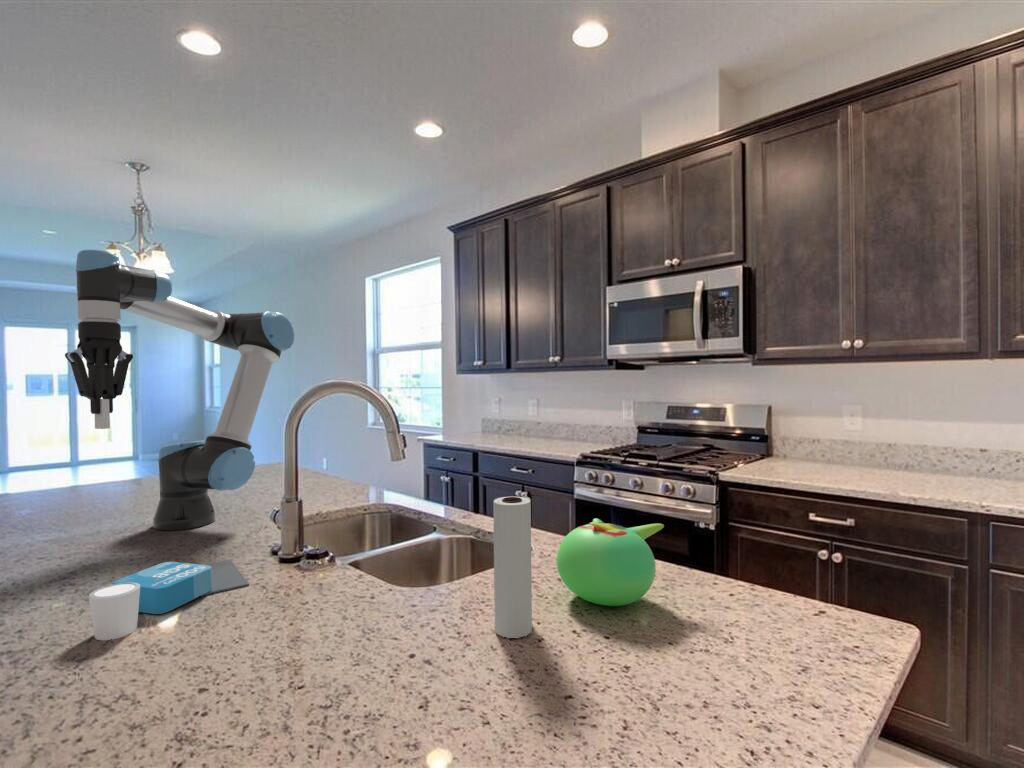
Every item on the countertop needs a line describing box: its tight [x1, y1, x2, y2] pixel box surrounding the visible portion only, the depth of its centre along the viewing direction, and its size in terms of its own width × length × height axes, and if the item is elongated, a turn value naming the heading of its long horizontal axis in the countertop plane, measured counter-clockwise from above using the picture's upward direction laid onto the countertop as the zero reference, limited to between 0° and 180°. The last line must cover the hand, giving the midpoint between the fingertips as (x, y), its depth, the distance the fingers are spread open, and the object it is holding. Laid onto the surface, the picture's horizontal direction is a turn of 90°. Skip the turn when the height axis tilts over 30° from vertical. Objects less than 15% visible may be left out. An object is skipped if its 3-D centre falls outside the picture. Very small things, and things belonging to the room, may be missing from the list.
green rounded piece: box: [556, 517, 665, 607], centre depth 100 cm, size 18×17×15 cm
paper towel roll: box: [492, 493, 533, 639], centre depth 88 cm, size 7×6×21 cm
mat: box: [201, 559, 250, 597], centre depth 111 cm, size 16×18×1 cm
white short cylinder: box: [88, 582, 140, 641], centre depth 89 cm, size 7×7×7 cm
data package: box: [112, 561, 212, 615], centre depth 102 cm, size 12×4×12 cm
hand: (102, 428), depth 121 cm, fingers closed
